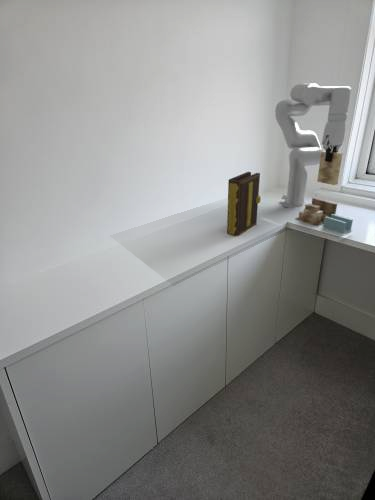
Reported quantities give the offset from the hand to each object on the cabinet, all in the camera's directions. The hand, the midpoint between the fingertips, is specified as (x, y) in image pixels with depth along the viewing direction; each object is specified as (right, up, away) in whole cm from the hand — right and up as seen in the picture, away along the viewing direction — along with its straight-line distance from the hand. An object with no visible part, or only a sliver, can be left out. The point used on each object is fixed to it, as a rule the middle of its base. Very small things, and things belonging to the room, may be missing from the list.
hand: (330, 160), depth 149 cm
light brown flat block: (0, -9, +4) cm, 10 cm away
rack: (-3, -27, +12) cm, 30 cm away
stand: (+3, -32, +1) cm, 32 cm away
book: (-39, -30, +7) cm, 50 cm away
